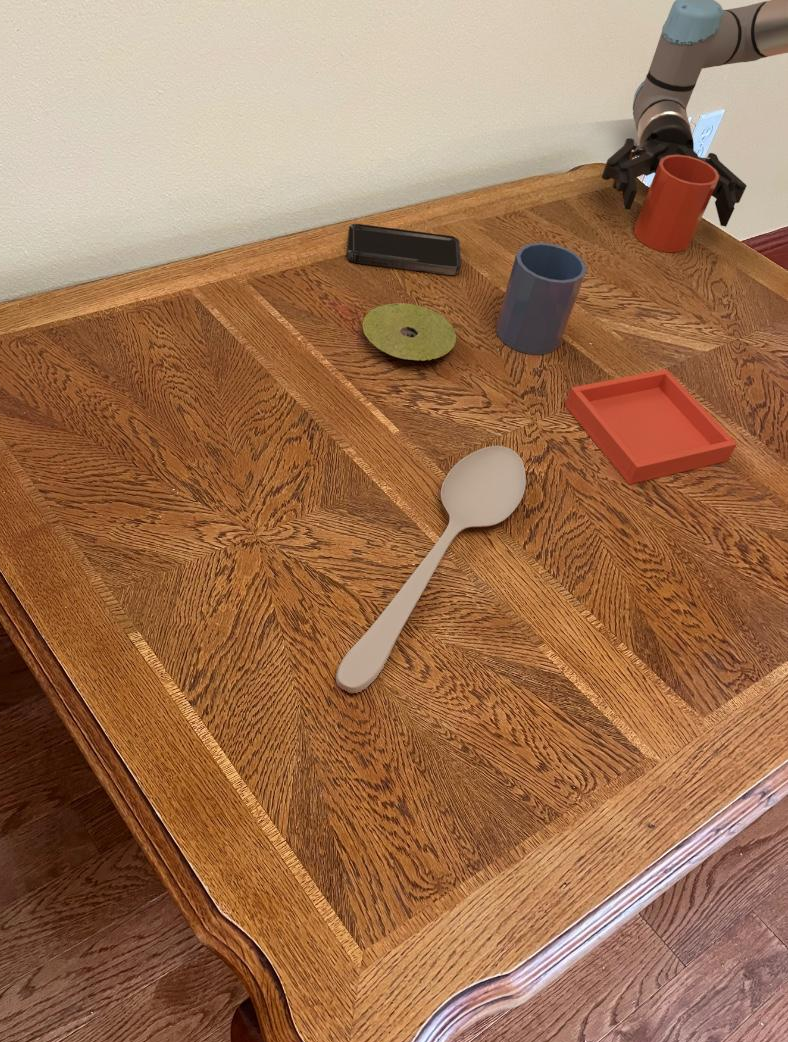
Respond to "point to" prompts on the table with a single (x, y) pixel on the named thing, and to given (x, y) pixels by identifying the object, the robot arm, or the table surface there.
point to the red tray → (649, 425)
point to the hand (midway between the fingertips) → (679, 208)
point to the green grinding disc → (409, 331)
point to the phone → (403, 249)
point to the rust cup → (675, 203)
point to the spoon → (440, 551)
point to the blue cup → (540, 297)
